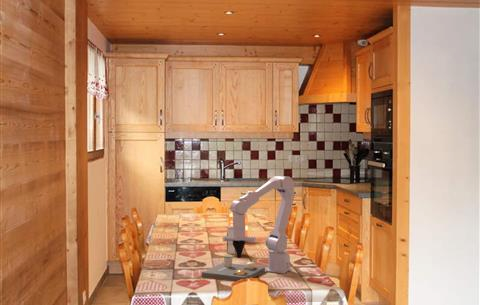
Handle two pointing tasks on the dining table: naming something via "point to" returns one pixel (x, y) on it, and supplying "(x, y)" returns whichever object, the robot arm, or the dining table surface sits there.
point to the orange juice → (232, 222)
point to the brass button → (240, 272)
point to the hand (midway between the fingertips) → (239, 257)
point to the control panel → (231, 272)
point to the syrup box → (230, 243)
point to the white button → (250, 266)
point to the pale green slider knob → (228, 261)
